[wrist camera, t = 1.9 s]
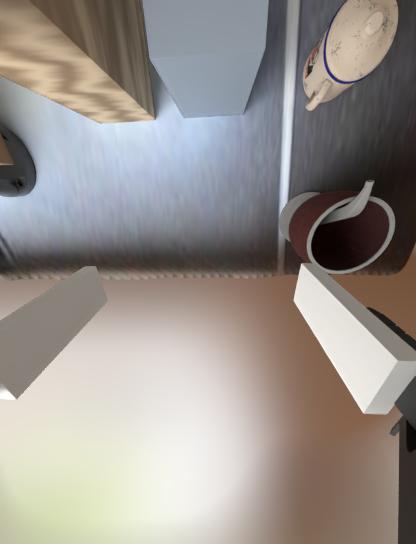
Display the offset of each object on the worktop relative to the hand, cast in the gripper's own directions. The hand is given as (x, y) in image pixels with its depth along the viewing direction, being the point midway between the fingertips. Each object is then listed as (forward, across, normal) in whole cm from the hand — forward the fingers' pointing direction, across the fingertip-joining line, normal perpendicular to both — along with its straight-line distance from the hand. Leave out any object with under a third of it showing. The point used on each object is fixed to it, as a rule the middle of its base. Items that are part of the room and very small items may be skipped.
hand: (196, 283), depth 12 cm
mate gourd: (+37, +22, -3) cm, 43 cm away
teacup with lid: (+37, +20, +21) cm, 47 cm away
